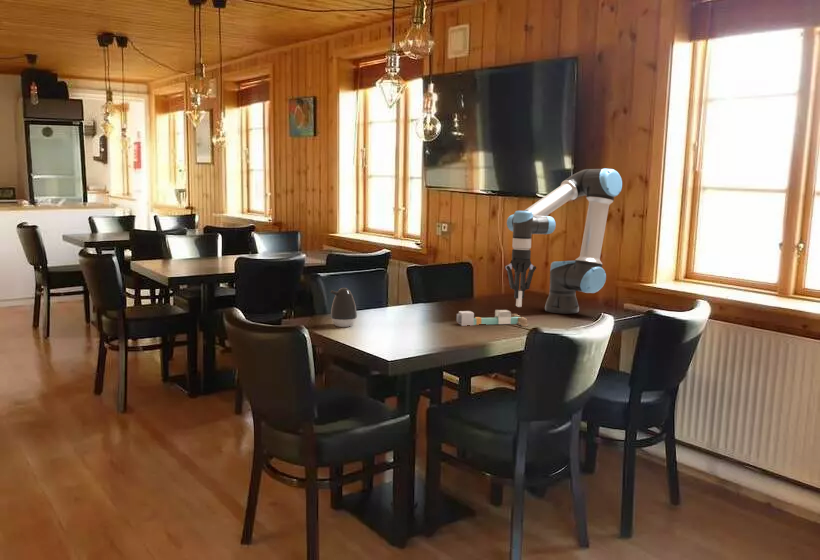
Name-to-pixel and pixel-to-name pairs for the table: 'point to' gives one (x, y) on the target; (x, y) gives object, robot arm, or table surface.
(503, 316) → the sleeve
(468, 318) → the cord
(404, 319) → the table surface
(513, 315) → the comb
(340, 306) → the pump dispenser
